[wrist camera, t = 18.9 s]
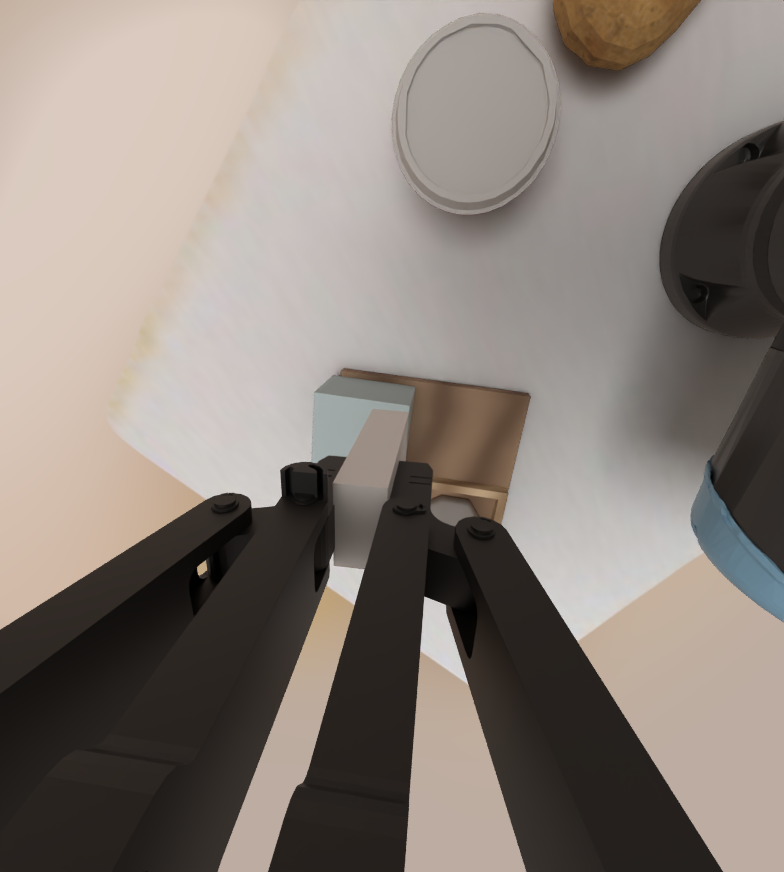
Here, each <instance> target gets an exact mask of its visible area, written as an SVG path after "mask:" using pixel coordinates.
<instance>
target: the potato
mask: <svg viewBox="0 0 784 872" xmlns="http://www.w3.org/2000/svg"><path fill="white" fill-rule="evenodd" d="M700 1H701V0H554V2H553V7H554V14H555V18H556V21H557V24H558V27H559V30H560V33H561V36H562V39H563V42H564V45H565V46H566V47H567V48H568V49H570V50H571V51H572V52H574V53H575V54H577V55H578V56H579V57H580V58H581V59H582V60H583V61H584V62H585V63H586V64H587V65H588V66H594V67H600V68H606V69H613V70H619V71H620V70H622V69H624V68H626V67H628V66H630V65H632V64H634V63H636V62H638V61H640V60H642V59H644V58H646V57H648V56H650V55H651V54H652V53H653V52H654V51H655V50H656V49H657V48H658V47H659V46H660V45H661V44H662V43H664V42H665V41H666V40H667V39H668V38H669V37H670V36H671V35H672V34H673V33H674V32H675V31H676V30H677V29H678V27H679V26H680V25H681V24H682V23H683V21H684V20H685V19H686V18H687V17H688V15H689V14H690V13H691V12H692V11H693V9H694V8H695V7H696V6H697V5H698V3H699V2H700Z"/></svg>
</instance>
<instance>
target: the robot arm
mask: <svg viewBox="0 0 784 872" xmlns="http://www.w3.org/2000/svg"><path fill="white" fill-rule="evenodd" d="M660 268H661V276H662V280H663V284H664V287H665V290H666V292H667V295H668V297H669V298H670V300H671V302H672V303H673V305H674V306H675V308H676V309H677V310H678V311H679V312H680V313H681V314H682V315H683V316H684V317H685V318H686V319H688V320H689V321H690V322H692V323H693V324H695V325H697V326H699V327H701V328H703V329H705V330H708V331H711V332H715V333H719V334H724V335H728V336H732V337H739V338H768V337H775V336H776V338H775V340H774V342H773V344H772V345H771V347H770V348H769V350H768V352H767V354H766V356H765V358H764V360H763V362H762V364H761V366H760V368H759V370H758V372H757V374H756V376H755V378H754V380H753V382H752V384H751V386H750V388H749V390H748V392H747V394H746V396H745V398H744V400H743V402H742V404H741V406H740V408H739V410H738V412H737V414H736V416H735V417H734V419H733V421H732V423H731V425H730V427H729V429H728V431H727V433H726V434H725V436H724V438H723V440H722V442H721V444H720V446H719V448H718V449H717V451H716V453H715V455H713V456H712V457H711V458H710V460H709V461H708V463H707V464H706V467H705V472H704V480H703V482H702V485H701V487H700V489H699V492H698V494H697V496H696V498H695V501H694V503H693V506H692V509H691V526H692V528H693V531H694V533H695V535H696V537H697V538H698V543H699V545H700V547H701V549H702V550H703V551H704V553H705V554H706V556H707V557H708V558H709V560H710V561H711V562H712V563H713V564H714V566H715V567H716V568H717V569H718V570H719V571H720V572H721V573H722V574H723V575H724V576H725V577H726V578H727V579H728V580H729V581H730V582H731V583H732V584H733V585H735V586H736V587H737V588H738V589H739V590H741V591H742V592H743V593H744V594H745V595H746V596H748V597H749V598H750V599H751V600H753V601H754V602H755V603H757V604H758V605H759V606H761V607H762V608H763V609H765V610H766V611H768V612H769V613H771V614H772V615H773V616H775V617H776V618H778V619H779V620H781V621H783V622H784V121H781V122H778V123H775V124H773V125H770V126H768V127H766V128H764V129H761V130H759V131H757V132H755V133H752V134H750V135H748V136H746V137H744V138H742V139H740V140H738V141H737V142H735V143H733V144H732V145H730V146H729V147H727V148H726V149H724V150H723V151H721V152H720V153H719V154H717V155H716V156H715V157H714V158H713V159H711V160H710V161H709V162H708V163H707V164H706V165H705V166H704V167H703V168H702V169H701V170H700V171H699V172H698V173H697V174H696V175H695V176H694V178H693V179H692V180H691V181H690V183H689V184H688V185H687V187H686V188H685V189H684V191H683V192H682V194H681V195H680V197H679V199H678V200H677V202H676V204H675V206H674V208H673V210H672V212H671V214H670V216H669V219H668V221H667V224H666V227H665V230H664V234H663V238H662V243H661V251H660ZM408 416H409V412H403V411H390V410H378V409H372V411H371V413H370V415H369V417H368V419H367V421H366V422H365V424H364V426H363V428H362V430H361V432H360V434H359V435H358V437H357V439H356V441H355V443H354V445H353V447H352V448H351V450H350V452H349V454H348V456H347V457H341V456H330V455H328V456H327V457H325V458H323V459H321V460H319V461H318V463H313V462H299V463H293V464H290V465H288V466H285V467H284V468H282V469H281V470H280V473H281V489H282V497H281V498H280V500H279V501H278V503H277V504H276V505H275V506H272V507H263V508H252V507H251V500H250V499H249V498H248V497H247V496H244V495H242V494H235V493H229V494H228V493H224V494H221V495H217V496H213V497H211V498H209V499H207V500H205V501H204V502H202V503H200V504H199V505H197V506H196V507H194V508H192V509H191V510H189V511H188V512H186V513H185V514H183V515H181V516H180V517H178V518H177V519H175V520H173V521H172V522H170V523H169V524H167V525H166V526H164V527H162V528H161V529H159V530H158V531H156V532H155V533H153V534H151V535H150V536H148V537H147V538H145V539H143V540H142V541H140V542H139V543H137V544H136V545H134V546H132V547H131V548H129V549H128V550H126V551H124V552H123V553H121V554H120V555H118V556H116V557H115V558H113V559H112V560H110V561H109V562H107V563H105V564H104V565H102V566H101V567H99V568H98V569H96V570H94V571H93V572H91V573H90V574H88V575H87V576H85V577H83V578H82V579H80V580H78V581H77V582H75V583H74V584H72V585H71V586H69V587H67V588H66V589H64V590H63V591H61V592H59V593H58V594H56V595H55V596H54V597H52V598H50V599H48V600H47V601H45V602H44V603H42V604H40V605H39V606H37V607H36V608H34V609H33V610H31V611H29V612H28V613H26V614H25V615H23V616H21V617H20V618H18V619H17V620H15V621H14V622H12V623H10V624H9V625H7V626H6V627H4V628H2V629H1V630H0V872H218V868H219V866H220V862H221V859H222V857H223V854H224V852H225V849H226V846H227V844H228V841H229V839H230V836H231V833H232V831H233V828H234V825H235V823H236V820H237V818H238V815H239V812H240V809H241V807H242V804H243V802H244V799H245V797H246V794H247V791H248V789H249V786H250V783H251V780H252V778H253V776H254V773H255V770H256V768H257V765H258V762H259V760H260V757H261V755H262V752H263V749H264V746H265V744H266V742H267V739H268V736H269V734H270V731H271V728H272V726H273V723H274V721H275V718H276V715H277V713H278V710H279V707H280V705H281V702H282V699H283V697H284V694H285V692H286V689H287V686H288V684H289V681H290V679H291V676H292V673H293V671H294V668H295V665H296V663H297V660H298V658H299V655H300V652H301V650H302V647H303V644H304V642H305V639H306V637H307V634H308V631H309V629H310V626H311V623H312V621H313V618H314V615H315V613H316V610H317V608H318V605H319V602H320V600H321V597H322V594H323V592H324V589H325V587H326V584H327V581H328V579H329V573H330V566H329V561H330V559H331V556H332V554H333V551H334V566H341V567H350V568H359V569H365V570H364V574H363V577H362V581H361V584H360V588H359V592H358V595H357V599H356V602H355V606H354V610H353V613H352V617H351V620H350V624H349V627H348V631H347V634H346V638H345V641H344V645H343V649H342V652H341V656H340V659H339V663H338V666H337V670H336V674H335V677H334V681H333V684H332V688H331V692H330V695H329V698H328V702H327V706H326V709H325V713H324V716H323V720H322V724H321V727H320V731H319V734H318V738H317V741H316V745H315V748H314V752H313V755H312V759H311V763H310V766H309V770H308V772H307V775H306V778H305V780H304V782H303V783H302V784H300V785H298V786H297V787H296V789H295V791H294V793H293V795H292V797H291V800H290V803H289V806H288V808H287V811H286V814H285V817H284V820H283V824H282V827H281V830H280V834H279V837H278V840H277V844H276V847H275V851H274V854H273V857H272V861H271V864H270V867H269V871H268V872H404V867H405V854H406V841H407V827H408V812H409V793H410V779H411V766H412V751H413V739H414V738H413V737H414V726H415V711H416V699H417V686H418V672H419V659H420V645H421V632H422V619H423V605H424V596H425V597H427V598H430V599H432V600H435V601H438V602H440V603H443V604H445V605H446V613H447V616H448V619H449V623H450V626H451V629H452V632H453V636H454V639H455V642H456V645H457V649H458V652H459V655H460V658H461V661H462V665H463V668H464V671H465V674H466V678H467V681H468V684H469V687H470V690H471V694H472V697H473V700H474V704H475V706H476V710H477V713H478V716H479V720H480V723H481V726H482V729H483V733H484V736H485V739H486V742H487V746H488V749H489V752H490V755H491V758H492V762H493V765H494V768H495V771H496V775H497V778H498V781H499V784H500V788H501V791H502V794H503V797H504V801H505V804H506V807H507V810H508V813H509V817H510V820H511V823H512V826H513V830H514V833H515V836H516V839H517V843H518V846H519V849H520V852H521V856H522V859H523V862H524V865H525V869H526V871H527V872H723V871H722V870H721V868H720V866H719V865H718V863H717V862H716V860H715V858H714V857H713V855H712V854H711V852H710V851H709V849H708V847H707V846H706V844H705V843H704V841H703V839H702V838H701V836H700V835H699V833H698V832H697V830H696V829H695V827H694V825H693V824H692V822H691V821H690V819H689V817H688V816H687V814H686V813H685V811H684V810H683V808H682V806H681V805H680V803H679V802H678V800H677V798H676V797H675V795H674V794H673V792H672V791H671V789H670V787H669V786H668V784H667V783H666V781H665V780H664V778H663V776H662V775H661V773H660V772H659V770H658V768H657V767H656V765H655V764H654V762H653V761H652V759H651V757H650V756H649V754H648V753H647V751H646V750H645V748H644V746H643V745H642V743H641V742H640V740H639V738H638V737H637V735H636V734H635V732H634V731H633V729H632V727H631V726H630V724H629V723H628V721H627V719H626V718H625V717H624V715H623V714H622V712H621V710H620V708H619V707H618V706H617V704H616V702H615V701H614V699H613V697H612V696H611V694H610V693H609V691H608V689H607V688H606V686H605V685H604V683H603V682H602V680H601V678H600V677H599V675H598V674H597V672H596V671H595V669H594V667H593V666H592V664H591V663H590V661H589V659H588V658H587V656H586V655H585V653H584V652H583V650H582V648H581V647H580V646H579V644H578V642H577V641H576V639H575V637H574V636H573V634H572V633H571V631H570V629H569V628H568V626H567V625H566V623H565V622H564V620H563V618H562V617H561V615H560V614H559V612H558V611H557V609H556V607H555V606H554V604H553V603H552V601H551V599H550V598H549V596H548V595H547V593H546V592H545V590H544V588H543V587H542V585H541V584H540V582H539V581H538V579H537V577H536V576H535V574H534V573H533V571H532V569H531V568H530V566H529V565H528V563H527V562H526V560H525V558H524V557H523V555H522V554H521V552H520V551H519V549H518V547H517V546H516V544H515V543H514V541H513V539H512V538H511V536H510V535H509V533H508V532H507V530H506V529H505V528H504V527H503V526H502V525H501V524H499V523H498V522H496V521H494V520H492V519H489V518H485V517H475V516H473V517H466V518H463V519H461V520H459V521H458V523H457V524H456V526H452V525H449V524H447V523H444V522H442V521H440V520H439V519H437V518H436V517H435V516H434V515H433V514H432V512H431V493H432V479H433V469H432V468H431V467H430V466H429V464H428V463H420V462H409V461H406V449H407V433H408ZM205 560H206V563H207V571H206V572H205V573H203V574H202V575H200V576H199V575H198V572H197V567H198V566H199V565H200V564H201V563H202V562H204V561H205Z"/></svg>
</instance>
